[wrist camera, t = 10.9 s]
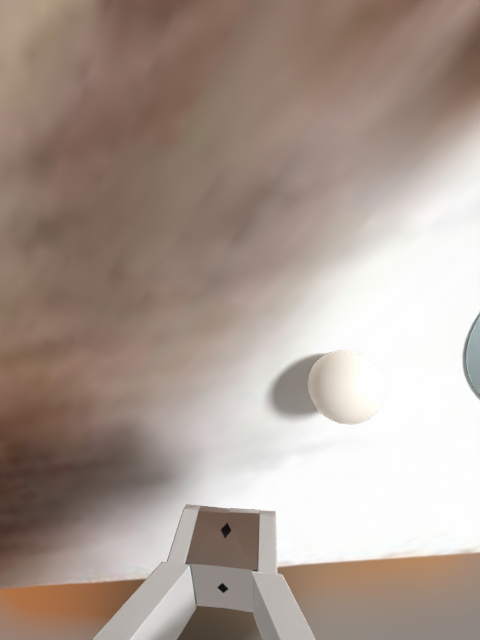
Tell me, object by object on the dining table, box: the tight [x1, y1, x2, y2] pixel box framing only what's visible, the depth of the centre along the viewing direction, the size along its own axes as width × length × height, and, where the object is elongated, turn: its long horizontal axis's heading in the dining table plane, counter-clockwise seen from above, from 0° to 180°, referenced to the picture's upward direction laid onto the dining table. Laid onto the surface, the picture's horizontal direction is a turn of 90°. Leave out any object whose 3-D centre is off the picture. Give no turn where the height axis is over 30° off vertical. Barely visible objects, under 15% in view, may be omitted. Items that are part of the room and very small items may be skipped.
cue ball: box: [308, 350, 385, 424], centre depth 20 cm, size 6×6×6 cm
